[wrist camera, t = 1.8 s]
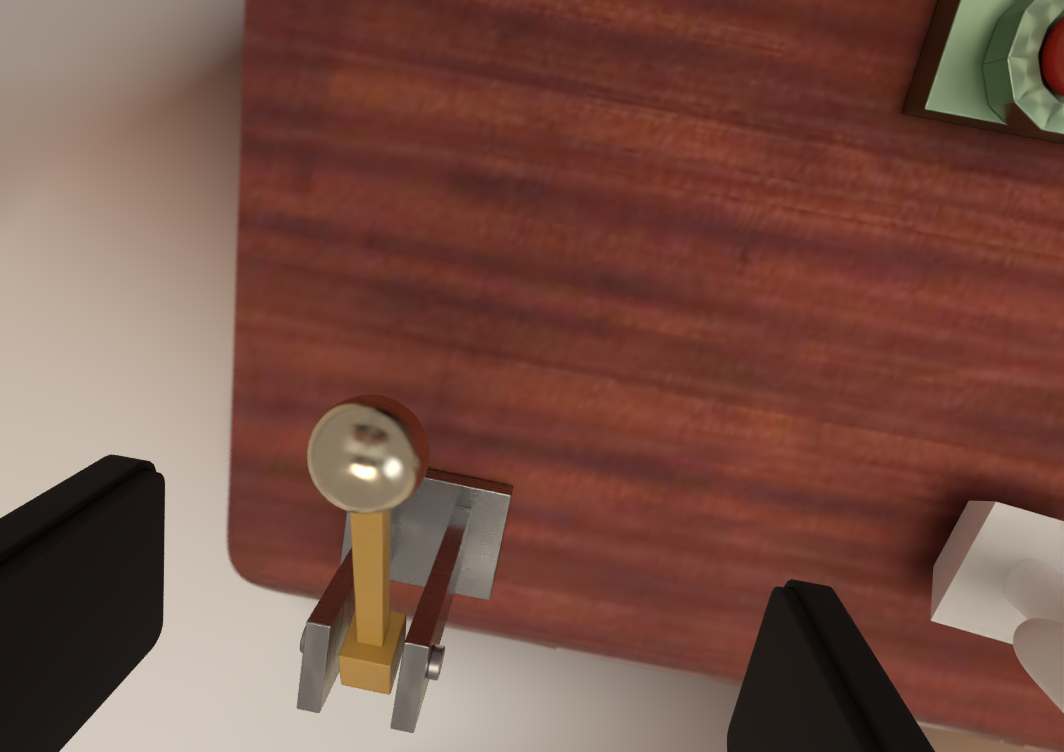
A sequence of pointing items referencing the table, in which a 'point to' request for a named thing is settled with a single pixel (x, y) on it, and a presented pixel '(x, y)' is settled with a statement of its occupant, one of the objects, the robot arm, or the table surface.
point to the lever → (369, 519)
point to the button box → (989, 68)
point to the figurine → (1007, 586)
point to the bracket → (420, 559)
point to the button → (1054, 58)
